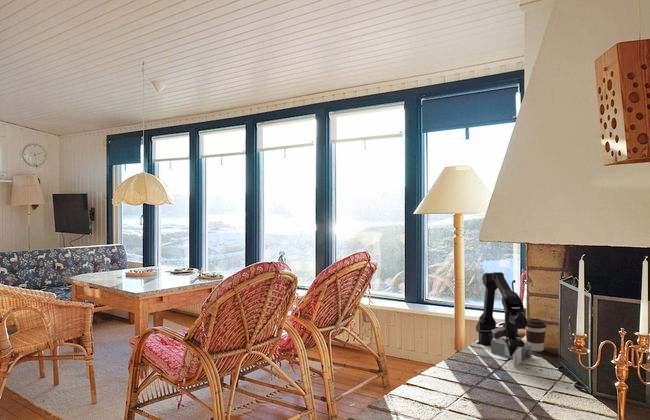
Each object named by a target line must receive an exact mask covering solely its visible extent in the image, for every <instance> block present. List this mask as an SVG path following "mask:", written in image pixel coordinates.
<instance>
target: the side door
mask: <svg viewBox="0 0 650 420" xmlns="http://www.w3.org/2000/svg"><path fill="white" fill-rule="evenodd" d="M522 362H523V361H522V348H519V349H518V350H517V351H516V352H514V353H513V359H512V364H513V365H512V367H513V368H516V367H517V366H518V365H519V364H521V363H522Z"/></svg>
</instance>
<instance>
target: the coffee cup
mask: <svg viewBox="0 0 650 420" xmlns="http://www.w3.org/2000/svg"><path fill="white" fill-rule="evenodd" d="M527 321H528V323H527V326H526V327H525V332H526V333H525V335H526V341H527V343H526V344H528V345H531V349H532V352H542V351H544V348H545V341H546V328H547V323H546V322H544V321H543V319H540V318H529V319H528V318H527Z"/></svg>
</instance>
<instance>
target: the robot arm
mask: <svg viewBox="0 0 650 420" xmlns="http://www.w3.org/2000/svg"><path fill="white" fill-rule="evenodd" d="M481 279H482V284H483V286H484V288H485V291H484V301H483V312H482V314H481V315H480V316H479V318H478V321H477V324H476V325H475V331H476V332H477V333H478V341H477V342H476V344H478V345H481V346H485V347H488V346H491V341H492V340H496V339H499V338H504V339H503V340H504V341H505V342H506V344H507V347H508V351H509V355H510V356H513V353H514V352H515V351H516V349H517V347H525V344H526V343H525V341H524V340H523V339H521V338H520V334H519V329H520V330H522V329H526V326H527V323H528V318H527V317H526V316H524V313H525V310H524V309H525V306H524V304H523V301H522V298H521V297H520V296H519V294H518V293H517V292H515V291H513V290H512V289H511V286H510V285H509V283H508V282H507V280H506V278H505V274H504V272H502V271H500V272H499V271H498V272H497V271H496V272H495V271H494V272H485V273H483V275H482V277H481ZM496 290H499V292H500V294H501V304H502V306H503V311H504V322H503V323H502V326H499V327H497V323H496V319H495V318H494V315H493V314H494V307H495V306H494V305H495V297H496Z"/></svg>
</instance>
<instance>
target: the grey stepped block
mask: <svg viewBox="0 0 650 420" xmlns="http://www.w3.org/2000/svg"><path fill="white" fill-rule="evenodd" d="M504 338H505V337H501V338H499V339H493V340H492V341H491V345H490V353H491V354H494V355H498V356H501V357H505V358H508V359H511V360H513V356H510V355H509V351H508V347H507V344H506V342H505V341H504V340H503V339H504ZM519 348H522V362H523V361H527V360H529V359H532V354H533V353H532V352H533V351H532V349H531V345H528V343H525V347H517V349H516V351H517V350H518V349H519ZM516 351H515V352H516Z"/></svg>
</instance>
